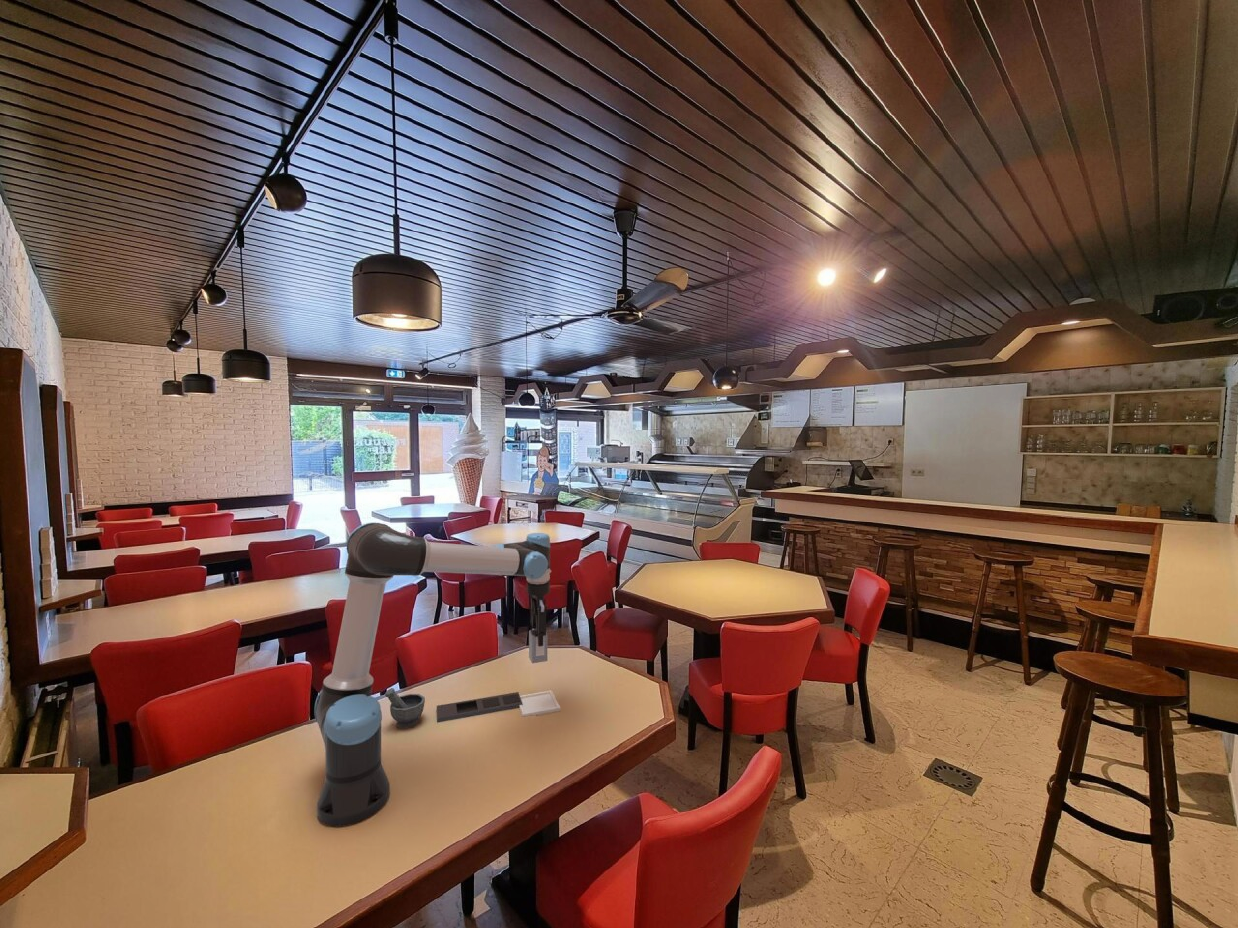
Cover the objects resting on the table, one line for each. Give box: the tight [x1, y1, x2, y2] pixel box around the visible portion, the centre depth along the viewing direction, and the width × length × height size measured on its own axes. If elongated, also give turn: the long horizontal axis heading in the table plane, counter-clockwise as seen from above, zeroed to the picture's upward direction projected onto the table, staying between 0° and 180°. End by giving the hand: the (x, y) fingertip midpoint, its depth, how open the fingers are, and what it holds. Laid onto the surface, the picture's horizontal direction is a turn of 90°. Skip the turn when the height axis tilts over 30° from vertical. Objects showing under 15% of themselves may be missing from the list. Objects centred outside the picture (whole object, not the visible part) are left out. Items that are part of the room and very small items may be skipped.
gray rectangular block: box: [528, 629, 548, 664], centre depth 162 cm, size 5×5×9 cm
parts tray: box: [518, 690, 561, 718], centre depth 163 cm, size 12×12×1 cm
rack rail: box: [436, 691, 523, 723], centre depth 160 cm, size 8×26×2 cm, turn 111°
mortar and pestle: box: [384, 687, 426, 729], centre depth 151 cm, size 11×9×12 cm
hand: (538, 651), depth 162 cm, fingers closed on gray rectangular block, 5 cm apart
